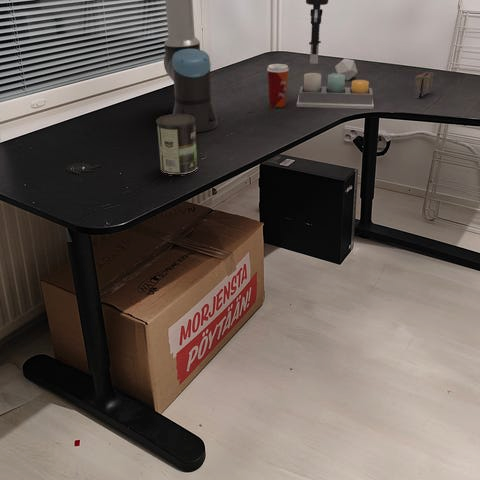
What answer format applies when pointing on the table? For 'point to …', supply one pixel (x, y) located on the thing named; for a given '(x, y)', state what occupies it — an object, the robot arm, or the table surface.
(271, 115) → the table surface
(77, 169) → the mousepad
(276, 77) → the paper cup
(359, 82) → the orange candle
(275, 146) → the table surface
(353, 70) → the die
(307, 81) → the ivory button
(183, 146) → the coffee can
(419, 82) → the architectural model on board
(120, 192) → the table surface
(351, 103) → the panel
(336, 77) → the teal button
